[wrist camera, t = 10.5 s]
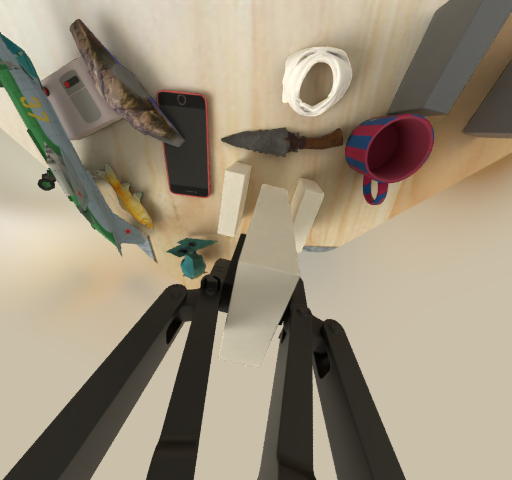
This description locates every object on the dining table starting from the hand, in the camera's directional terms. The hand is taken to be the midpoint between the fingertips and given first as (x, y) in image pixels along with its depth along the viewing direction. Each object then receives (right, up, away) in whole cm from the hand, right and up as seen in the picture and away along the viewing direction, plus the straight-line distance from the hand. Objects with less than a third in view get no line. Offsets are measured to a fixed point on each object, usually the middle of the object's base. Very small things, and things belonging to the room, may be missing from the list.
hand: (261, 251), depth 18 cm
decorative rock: (-15, +21, +6) cm, 27 cm away
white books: (+2, +8, +13) cm, 15 cm away
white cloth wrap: (+7, +20, +6) cm, 22 cm away
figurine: (-15, +1, +17) cm, 23 cm away
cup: (+15, +13, +9) cm, 22 cm away
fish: (-20, +9, +14) cm, 26 cm away
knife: (+3, +15, +9) cm, 18 cm away
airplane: (-30, +10, +6) cm, 33 cm away
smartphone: (-11, +15, +11) cm, 21 cm away
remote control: (-26, +20, +9) cm, 34 cm away
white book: (+1, +3, +6) cm, 7 cm away
